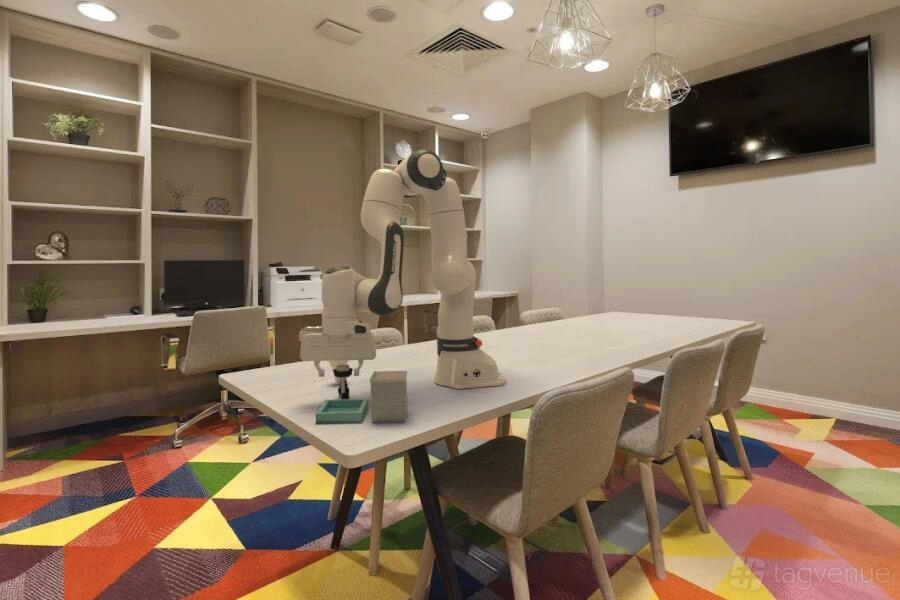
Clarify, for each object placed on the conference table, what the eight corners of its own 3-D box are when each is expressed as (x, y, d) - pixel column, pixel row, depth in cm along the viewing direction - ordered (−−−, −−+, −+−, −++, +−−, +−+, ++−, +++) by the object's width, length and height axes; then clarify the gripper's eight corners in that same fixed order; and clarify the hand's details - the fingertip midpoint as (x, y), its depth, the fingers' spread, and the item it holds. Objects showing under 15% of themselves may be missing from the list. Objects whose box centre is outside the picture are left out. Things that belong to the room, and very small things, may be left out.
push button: (352, 405, 126) (351, 369, 125) (332, 406, 126) (330, 370, 125) (354, 398, 133) (353, 363, 132) (335, 399, 132) (334, 364, 131)
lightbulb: (351, 381, 151) (350, 347, 150) (345, 386, 145) (344, 351, 144) (333, 381, 151) (332, 347, 150) (326, 386, 145) (325, 351, 144)
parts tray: (368, 407, 124) (367, 398, 124) (361, 422, 113) (361, 412, 113) (326, 409, 124) (326, 399, 123) (315, 423, 113) (315, 413, 112)
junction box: (408, 410, 121) (407, 370, 120) (406, 422, 113) (404, 379, 112) (374, 411, 121) (373, 371, 120) (369, 423, 112) (368, 380, 111)
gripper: (297, 328, 123) (298, 380, 124) (376, 327, 126) (376, 377, 127) (300, 324, 129) (301, 373, 130) (376, 324, 132) (376, 372, 134)
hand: (339, 375), depth 129 cm, fingers open, 8 cm apart
